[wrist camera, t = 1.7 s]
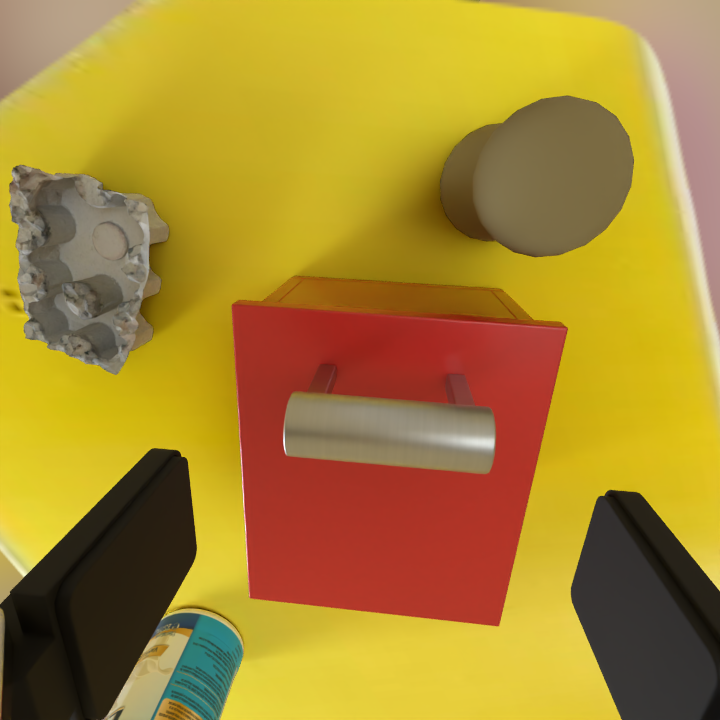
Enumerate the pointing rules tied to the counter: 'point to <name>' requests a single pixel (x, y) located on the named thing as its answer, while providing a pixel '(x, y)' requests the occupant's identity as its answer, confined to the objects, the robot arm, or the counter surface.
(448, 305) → the cabinet
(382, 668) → the counter surface
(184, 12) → the counter surface
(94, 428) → the counter surface
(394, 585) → the cab door
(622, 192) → the cork
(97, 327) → the egg carton
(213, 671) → the beverage bottle
